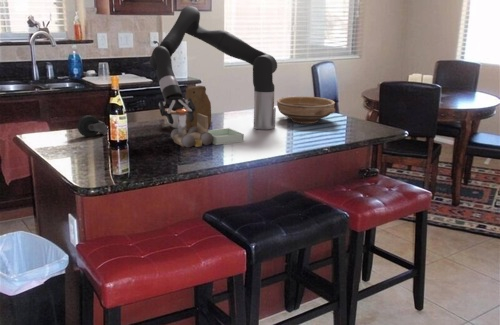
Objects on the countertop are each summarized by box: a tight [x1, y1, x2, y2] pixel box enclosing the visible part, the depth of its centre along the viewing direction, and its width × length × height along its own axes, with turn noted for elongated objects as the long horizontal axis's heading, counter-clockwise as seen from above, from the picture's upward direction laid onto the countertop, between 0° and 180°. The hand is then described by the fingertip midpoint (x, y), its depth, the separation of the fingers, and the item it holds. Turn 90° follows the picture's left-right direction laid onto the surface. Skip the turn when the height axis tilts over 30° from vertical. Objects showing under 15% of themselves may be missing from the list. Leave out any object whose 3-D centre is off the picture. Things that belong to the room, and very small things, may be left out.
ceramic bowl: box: [276, 95, 336, 124], centre depth 252 cm, size 37×29×10 cm
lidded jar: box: [165, 108, 178, 129], centre depth 236 cm, size 11×11×9 cm
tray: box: [208, 127, 245, 146], centre depth 213 cm, size 13×13×3 cm
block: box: [185, 85, 212, 131], centre depth 227 cm, size 11×8×20 cm
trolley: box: [170, 113, 213, 148], centre depth 206 cm, size 13×14×11 cm
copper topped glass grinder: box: [176, 109, 188, 138], centre depth 204 cm, size 5×5×11 cm
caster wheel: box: [77, 114, 109, 138], centre depth 216 cm, size 6×10×15 cm
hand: (182, 122), depth 203 cm, fingers open, 8 cm apart
